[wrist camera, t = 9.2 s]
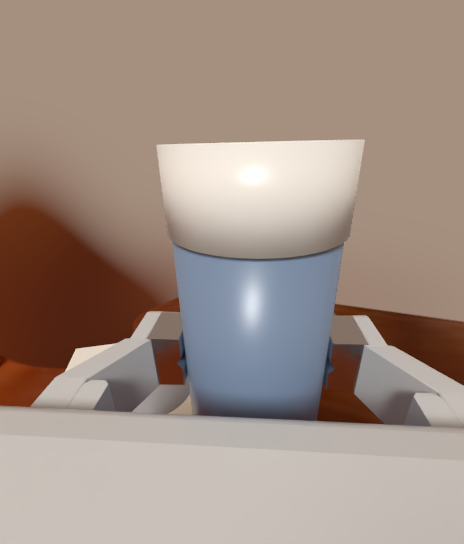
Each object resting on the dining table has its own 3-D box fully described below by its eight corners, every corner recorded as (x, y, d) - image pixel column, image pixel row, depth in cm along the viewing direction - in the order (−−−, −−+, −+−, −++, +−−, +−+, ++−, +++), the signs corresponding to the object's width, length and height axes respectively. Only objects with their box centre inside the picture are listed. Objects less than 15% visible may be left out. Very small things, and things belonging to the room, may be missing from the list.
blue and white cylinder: (284, 420, 14) (307, 141, 9) (329, 530, 10) (421, 138, 5) (194, 437, 14) (160, 144, 8) (204, 564, 10) (147, 144, 4)
